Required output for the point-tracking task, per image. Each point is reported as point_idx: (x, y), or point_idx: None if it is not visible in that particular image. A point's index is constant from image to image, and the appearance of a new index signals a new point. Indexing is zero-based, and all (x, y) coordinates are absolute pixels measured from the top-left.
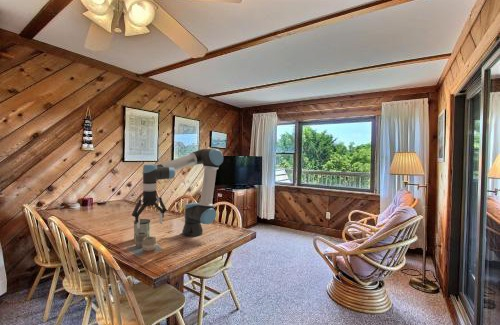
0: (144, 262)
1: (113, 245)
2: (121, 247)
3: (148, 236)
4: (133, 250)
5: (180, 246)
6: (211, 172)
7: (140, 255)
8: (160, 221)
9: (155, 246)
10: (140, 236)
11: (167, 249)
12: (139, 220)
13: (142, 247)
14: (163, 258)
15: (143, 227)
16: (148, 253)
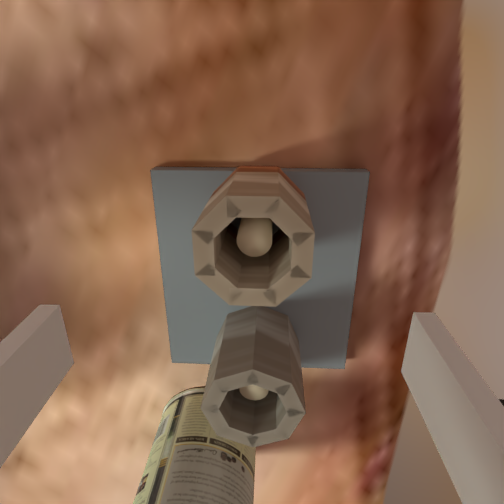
0: (364, 53)
1: (366, 453)
2: (348, 405)
3: (173, 422)
4: (334, 298)
5: (10, 186)
6: None
7: (343, 176)
8: (46, 350)
9: (210, 199)
10: (279, 370)
11: (117, 193)
12: (487, 414)
13: (265, 308)
14: (210, 27)
15: (198, 495)
16: (281, 170)
